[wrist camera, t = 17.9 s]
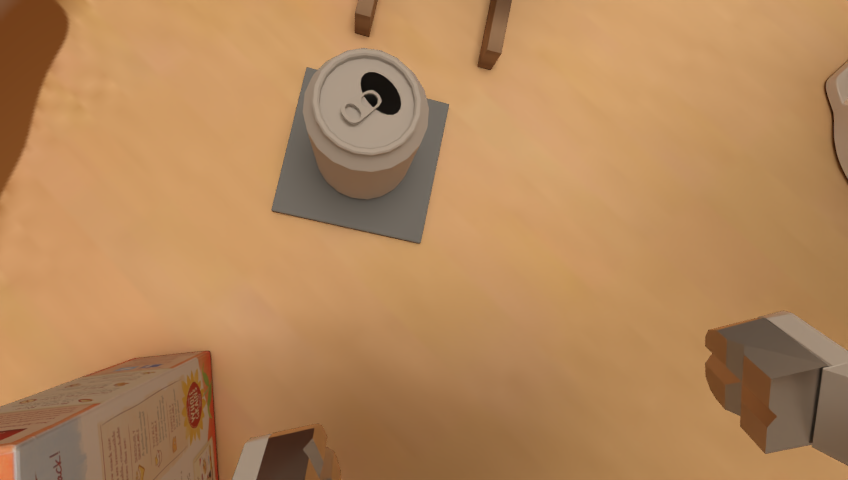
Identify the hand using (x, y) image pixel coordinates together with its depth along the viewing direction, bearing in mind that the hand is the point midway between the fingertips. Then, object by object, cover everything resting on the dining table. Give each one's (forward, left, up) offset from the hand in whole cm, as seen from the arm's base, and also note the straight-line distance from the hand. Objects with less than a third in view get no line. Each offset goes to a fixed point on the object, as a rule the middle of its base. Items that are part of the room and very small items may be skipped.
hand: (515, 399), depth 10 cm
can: (-8, -10, -28) cm, 31 cm away
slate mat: (-8, -10, -29) cm, 31 cm away
